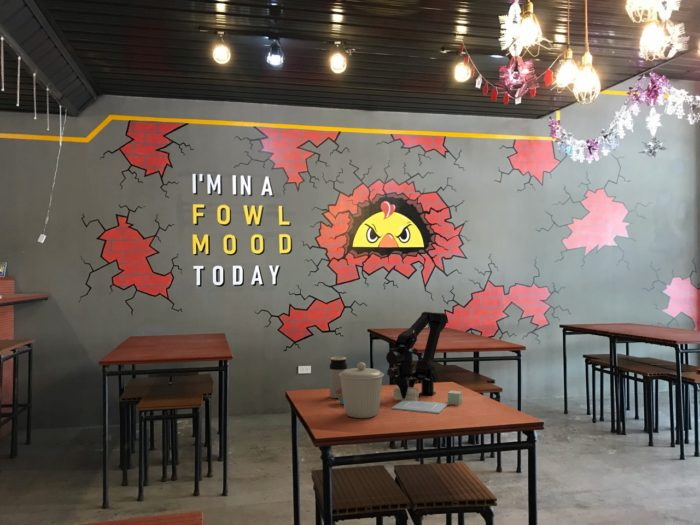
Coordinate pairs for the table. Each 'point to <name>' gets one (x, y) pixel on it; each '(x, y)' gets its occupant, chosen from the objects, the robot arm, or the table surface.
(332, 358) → the travel mug
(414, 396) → the birch brick
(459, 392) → the sage cube
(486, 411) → the table surface
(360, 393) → the canister
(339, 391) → the cupcake
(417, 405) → the board
